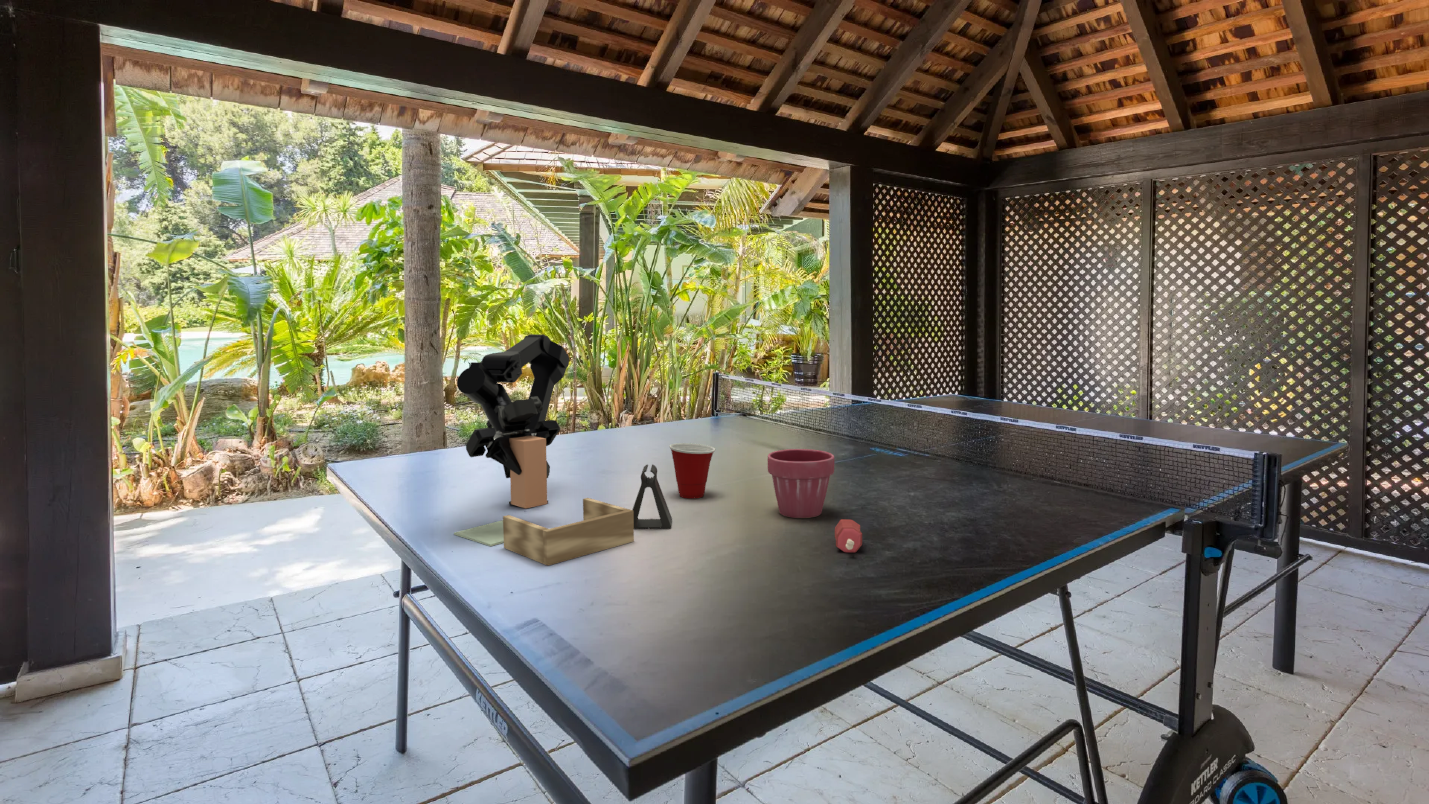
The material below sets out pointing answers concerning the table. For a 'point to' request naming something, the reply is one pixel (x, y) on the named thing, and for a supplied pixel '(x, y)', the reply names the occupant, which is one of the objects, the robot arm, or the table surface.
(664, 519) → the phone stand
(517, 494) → the block
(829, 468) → the plant pot
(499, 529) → the mat
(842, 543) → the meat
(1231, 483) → the table surface
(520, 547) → the u-shaped frame
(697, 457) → the plastic cup
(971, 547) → the table surface
